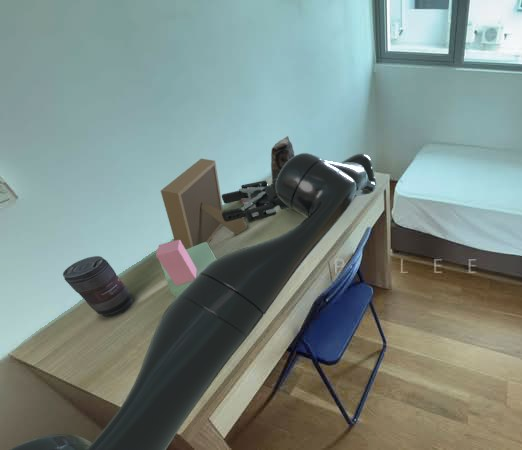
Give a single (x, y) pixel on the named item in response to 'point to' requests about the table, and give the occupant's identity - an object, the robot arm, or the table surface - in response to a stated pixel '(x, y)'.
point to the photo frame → (197, 205)
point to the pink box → (176, 262)
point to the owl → (280, 156)
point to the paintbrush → (244, 202)
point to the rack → (201, 260)
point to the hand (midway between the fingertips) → (222, 207)
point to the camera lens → (99, 286)
